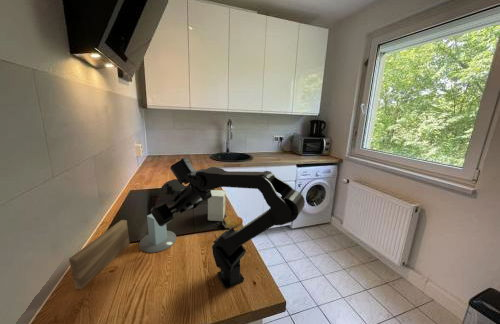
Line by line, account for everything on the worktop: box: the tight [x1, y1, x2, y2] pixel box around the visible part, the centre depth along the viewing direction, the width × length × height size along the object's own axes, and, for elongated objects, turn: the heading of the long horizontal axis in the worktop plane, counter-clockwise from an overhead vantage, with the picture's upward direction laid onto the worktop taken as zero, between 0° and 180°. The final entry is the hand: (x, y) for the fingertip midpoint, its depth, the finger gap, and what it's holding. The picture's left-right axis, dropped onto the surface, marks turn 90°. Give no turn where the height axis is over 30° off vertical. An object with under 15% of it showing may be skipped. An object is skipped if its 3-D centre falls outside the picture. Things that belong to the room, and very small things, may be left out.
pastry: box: [221, 215, 244, 230], centre depth 92 cm, size 9×7×4 cm
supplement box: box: [207, 189, 226, 222], centre depth 96 cm, size 7×7×13 cm
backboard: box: [68, 219, 130, 290], centre depth 65 cm, size 2×20×10 cm, turn 175°
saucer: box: [138, 230, 177, 254], centre depth 78 cm, size 13×13×1 cm
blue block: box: [146, 213, 167, 245], centre depth 77 cm, size 4×5×11 cm
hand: (169, 216), depth 72 cm, fingers open, 9 cm apart
